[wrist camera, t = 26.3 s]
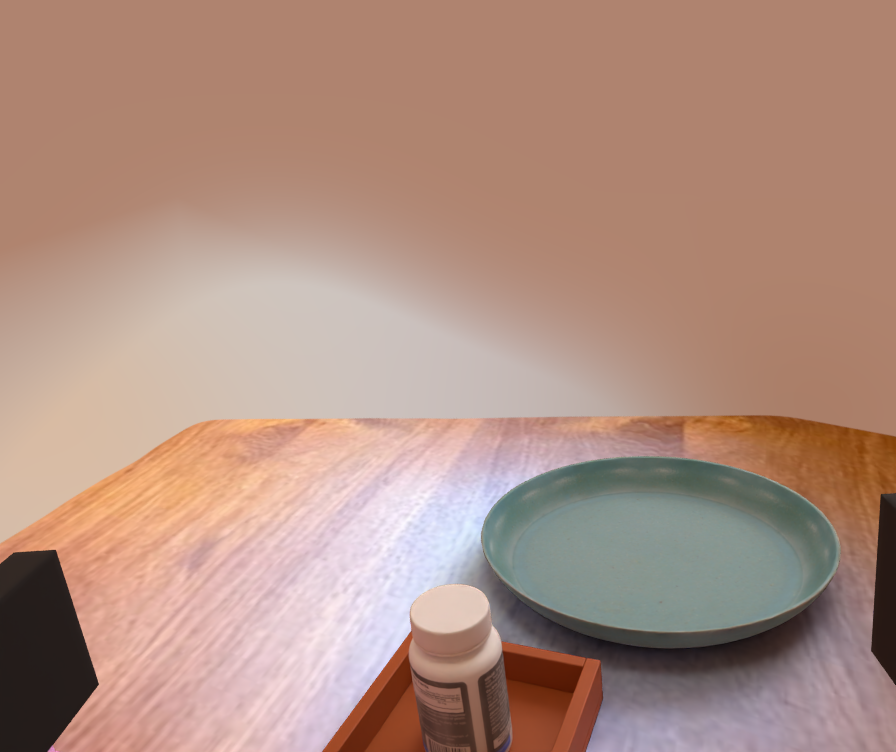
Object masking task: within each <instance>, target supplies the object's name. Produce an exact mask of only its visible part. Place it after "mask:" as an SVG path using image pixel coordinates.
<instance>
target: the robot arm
mask: <svg viewBox="0 0 896 752" xmlns="http://www.w3.org/2000/svg"><path fill="white" fill-rule="evenodd" d="M871 651H872V652H873V654H874V655H875V657H876V658H877V660H878V661H879V662H880V664H881V665H882V667H883V668H884V669H885V671H886V672H887V674H888V675H889V677H890V678H891V679H892V681H893V682H894V684H895V685H896V493H893V494H881V500H880V516H879V533H878V549H877V565H876V581H875V597H874V614H873V630H872V646H871ZM98 685H99V683H98V680H97V677H96V674H95V671H94V668H93V664H92V661H91V658H90V655H89V652H88V649H87V646H86V643H85V639H84V636H83V633H82V630H81V627H80V624H79V621H78V618H77V615H76V611H75V608H74V605H73V602H72V599H71V596H70V593H69V590H68V587H67V583H66V580H65V577H64V574H63V571H62V568H61V565H60V562H59V558H58V555H57V552H56V550H46V551H31V552H16V553H13V554H12V555H10V556H9V557H8V558H7V559H6V560H4V561H3V562H2V563H1V564H0V752H48V751H49V749H50V748H51V747H52V745H53V744H54V743H55V741H56V740H57V739H58V738H59V736H60V735H61V734H62V732H63V731H64V730H65V728H66V727H67V726H68V724H69V723H70V722H71V720H72V719H73V718H74V716H75V715H76V714H77V713H78V711H79V710H80V709H81V707H82V706H83V705H84V703H85V702H86V701H87V699H88V698H89V697H90V695H91V694H92V693H93V691H94V690H95V689H96V688H97V686H98Z"/></svg>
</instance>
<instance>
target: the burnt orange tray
mask: <svg viewBox="0 0 896 752" xmlns="http://www.w3.org/2000/svg"><path fill="white" fill-rule="evenodd" d="M412 639H413V636H412V631H411V632H410V633H409V635H408V636H407V638H406V639H405V640H404V642H403V643H402V644H401V646H400V647H399V648H398V650H397V651H396V652H395V654H394V655H393V657H392V658H391V659H390V661H389V662H388V663H387V665H386V666H385V667H384V669H383V670H382V671H381V673H380V674H379V676H378V677H377V678H376V680H375V681H374V682H373V684H372V685H371V686H370V688H369V689H368V690H367V692H366V693H365V695H364V696H363V697H362V699H361V700H360V701H359V703H358V704H357V705H356V707H355V708H354V709H353V711H352V712H351V714H350V715H349V716H348V718H347V719H346V720H345V722H344V723H343V724H342V726H341V727H340V728H339V730H338V731H337V732H336V734H335V735H334V737H333V738H332V739H331V741H330V742H329V743H328V745H327V746H326V747H325V749H324V750H323V751H322V752H425V748H424V744H423V738H422V732H421V726H420V721H419V715H418V709H417V702H416V697H415V691H414V686H413V680H412V674H411V668H410V662H409V647H410V643H411V641H412ZM501 643H502V649H503V657H504V667H505V676H506V683H507V692H508V699H509V708H510V716H511V724H512V743H511V746H510V749H509V751H508V752H585V751H586V748H587V745H588V742H589V739H590V736H591V733H592V730H593V727H594V724H595V721H596V718H597V715H598V712H599V709H600V706H601V703H602V700H603V691H602V675H601V661H600V660H596V659H590V658H587V659H586V658H585V657H580V656H574V655H569V654H564V653H559V652H554V651H549V650H543V649H538V648H533V647H528V646H523V645H517V644H512V643H507V642H502V641H501Z"/></svg>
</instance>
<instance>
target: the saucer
mask: <svg viewBox="0 0 896 752" xmlns="http://www.w3.org/2000/svg"><path fill="white" fill-rule="evenodd" d="M481 543H482V548H483V552H484V554H485V557H486V559H487V561H488V563H489V565H490V566H491V568H492V569H493V571H494V573H495V574H496V575H497V577H498V578H499V579H500V581H501V582H502V583H503V584H504V585H505V586H506V587H507V588H508V589H509V590H510V591H511V592H512V593H513V594H514V595H515V596H516V597H517V598H518V599H520V600H521V601H522V602H524V603H525V604H526V605H528V606H529V607H530V608H532V609H533V610H534V611H536V612H537V613H539V614H541V615H543V616H544V617H546V618H548V619H550V620H552V621H554V622H556V623H558V624H560V625H562V626H564V627H566V628H569V629H571V630H574V631H576V632H579V633H582V634H585V635H588V636H591V637H594V638H598V639H602V640H606V641H610V642H615V643H620V644H625V645H632V646H640V647H650V648H694V647H704V646H711V645H718V644H723V643H728V642H732V641H736V640H740V639H744V638H747V637H751V636H754V635H757V634H759V633H762V632H764V631H767V630H770V629H772V628H774V627H776V626H778V625H780V624H782V623H784V622H786V621H787V620H789V619H791V618H792V617H794V616H796V615H797V614H799V613H800V612H802V611H803V610H804V609H805V608H807V607H808V606H809V605H810V604H811V603H812V602H813V601H815V600H816V599H817V598H818V597H819V595H820V594H821V593H822V592H823V591H824V590H825V589H826V587H827V586H828V584H829V583H830V581H831V580H832V578H833V576H834V574H835V572H836V571H837V569H838V565H839V562H840V554H841V549H840V543H839V539H838V536H837V533H836V531H835V529H834V527H833V526H832V524H831V523H830V521H829V520H828V519H827V517H826V516H825V515H824V514H823V513H822V512H821V511H820V510H819V509H818V508H817V507H816V506H815V505H813V504H812V503H811V502H810V501H808V500H807V499H806V498H804V497H803V496H801V495H800V494H798V493H797V492H795V491H793V490H791V489H789V488H787V487H786V486H783V485H781V484H779V483H777V482H775V481H773V480H771V479H768V478H766V477H763V476H760V475H758V474H755V473H752V472H749V471H746V470H743V469H739V468H735V467H731V466H727V465H723V464H718V463H713V462H708V461H702V460H695V459H687V458H676V457H662V456H632V457H615V458H606V459H598V460H592V461H586V462H581V463H577V464H572V465H568V466H564V467H561V468H558V469H554V470H551V471H548V472H546V473H543V474H541V475H538V476H536V477H534V478H531V479H529V480H527V481H525V482H524V483H522V484H520V485H518V486H517V487H515V488H513V489H512V490H510V491H509V492H508V493H507V494H505V495H504V496H503V497H502V498H501V499H500V500H499V501H498V502H497V503H496V504H495V505H494V506H493V507H492V509H491V510H490V512H489V513H488V515H487V517H486V518H485V521H484V524H483V528H482V532H481Z"/></svg>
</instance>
